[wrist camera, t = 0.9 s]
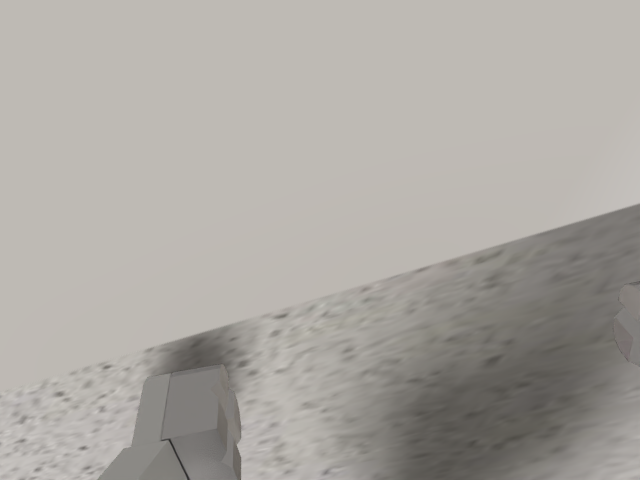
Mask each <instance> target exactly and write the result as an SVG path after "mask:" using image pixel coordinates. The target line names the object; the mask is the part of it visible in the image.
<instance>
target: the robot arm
mask: <svg viewBox="0 0 640 480" xmlns="http://www.w3.org/2000/svg"><path fill="white" fill-rule="evenodd" d="M618 300H619V301H620V303H621V304H622V305H623V306H624V307H623V308H622V309H621V310H620V312H619V313H618V314H617V315H616V316H615V319H614V326H613V331H614V336H615V341H616V343H617V345H618V347H619V349H620V351H621V353H622V354H623V355H624V356H625V358H626V359H627V360H628V361H629V362H631V363H633V364H635V365H637V366H639V367H640V281H639V282H634V283H629V284H625V285H624V286H623V287H622V289H621V290H620V294H619V299H618ZM240 439H241V421H240V412H239V407H238V403H237V399H236V396H235V393H234V391H232V390H230V389H229V376H228V374H227V371H226V368H225V366H224V365H223V364H218V365H212V366H207V367H201V368H195V369H189V370H183V371H177V372H173V373H169V374H163V375H157V376H151V377H148V378H147V379H146V381H145V383H144V385H143V390H142V395H141V400H140V405H139V410H138V415H137V420H136V425H135V430H134V435H133V440H132V445H131V447H129V448H125V449H123V450H122V451H121V452H120V454H119V455H118V456H117V457H116V458H115V459H114V461H113V462H112V463H111V464H110V465H109V466H108V468H107V469H106V470H105V471H104V472H103V473H102V475H101V476H100V477H99V478H98V479H97V480H241V456H240V453H239V450H238V448H237V444H238V442H239V441H240Z"/></svg>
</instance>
